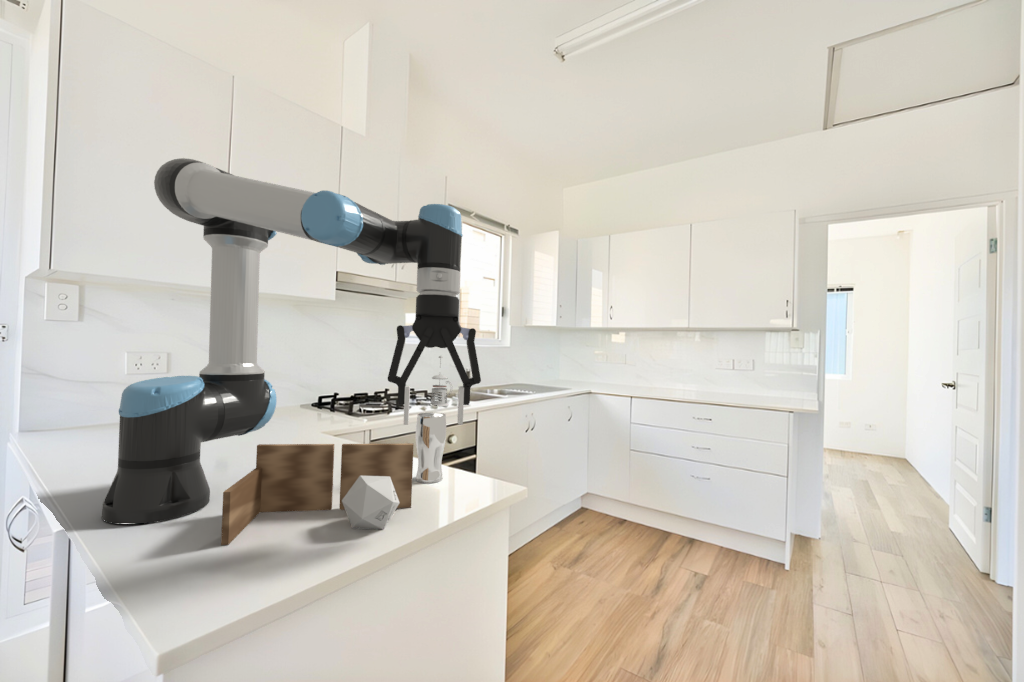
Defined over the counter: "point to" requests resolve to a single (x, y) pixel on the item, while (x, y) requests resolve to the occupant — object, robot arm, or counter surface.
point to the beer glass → (430, 446)
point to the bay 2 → (378, 467)
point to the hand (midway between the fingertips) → (433, 423)
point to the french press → (443, 390)
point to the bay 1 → (280, 485)
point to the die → (370, 502)
